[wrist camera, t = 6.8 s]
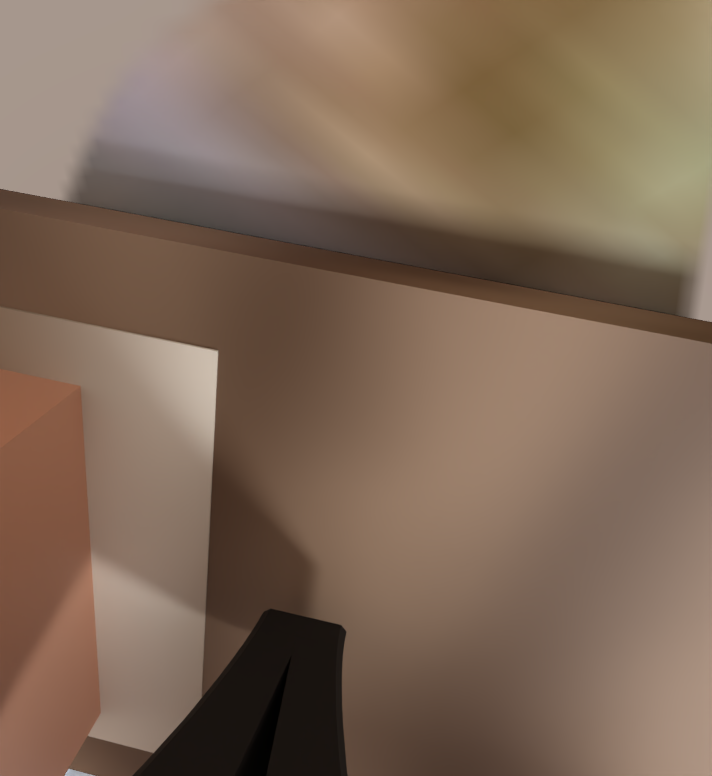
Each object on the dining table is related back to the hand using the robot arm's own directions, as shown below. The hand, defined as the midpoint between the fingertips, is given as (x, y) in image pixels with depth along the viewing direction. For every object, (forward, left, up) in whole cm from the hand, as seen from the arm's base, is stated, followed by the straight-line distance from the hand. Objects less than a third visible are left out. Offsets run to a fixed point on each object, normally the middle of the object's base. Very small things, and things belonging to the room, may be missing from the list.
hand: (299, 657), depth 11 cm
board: (+2, 0, -2) cm, 3 cm away
